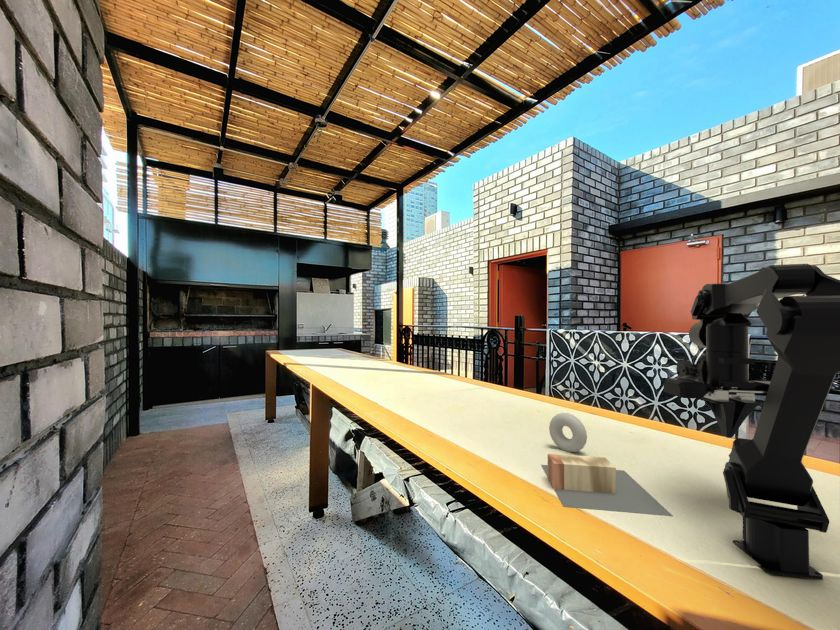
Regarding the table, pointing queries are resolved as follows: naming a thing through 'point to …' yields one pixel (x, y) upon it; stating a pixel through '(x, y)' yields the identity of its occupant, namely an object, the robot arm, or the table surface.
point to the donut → (576, 427)
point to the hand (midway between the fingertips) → (727, 436)
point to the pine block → (581, 473)
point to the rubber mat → (613, 498)
